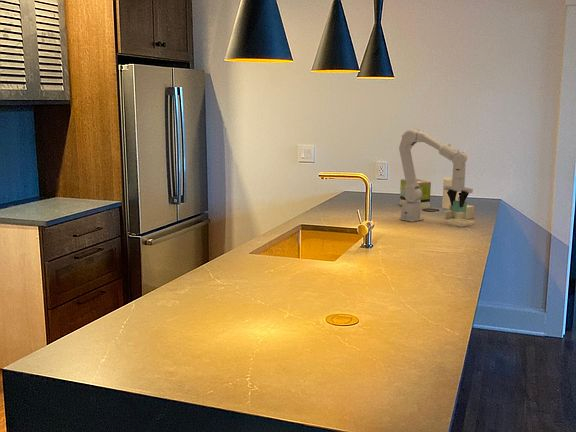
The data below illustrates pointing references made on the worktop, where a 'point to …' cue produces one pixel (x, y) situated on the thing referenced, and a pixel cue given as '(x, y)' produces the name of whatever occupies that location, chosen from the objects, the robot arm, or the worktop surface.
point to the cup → (446, 198)
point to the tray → (460, 222)
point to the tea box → (425, 188)
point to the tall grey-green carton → (457, 207)
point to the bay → (460, 213)
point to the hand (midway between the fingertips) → (457, 206)
